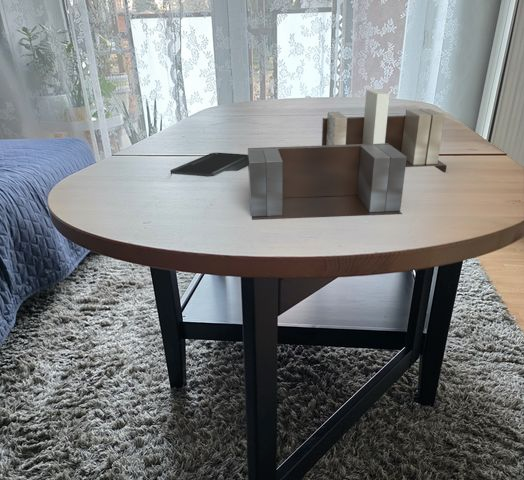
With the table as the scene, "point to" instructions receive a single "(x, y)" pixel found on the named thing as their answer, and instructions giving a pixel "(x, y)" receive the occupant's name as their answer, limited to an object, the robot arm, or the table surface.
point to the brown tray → (394, 134)
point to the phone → (212, 164)
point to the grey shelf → (325, 181)
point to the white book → (375, 116)
